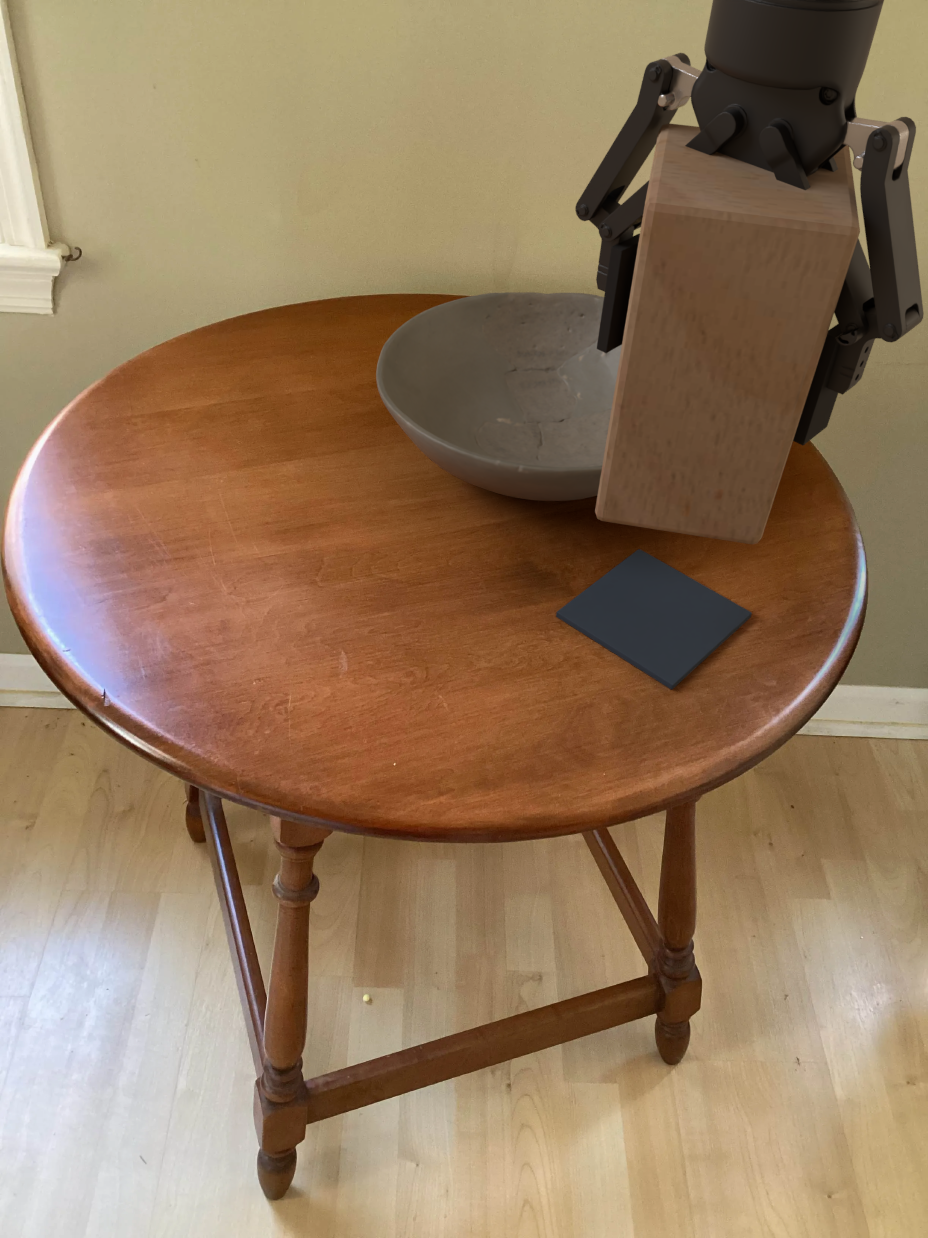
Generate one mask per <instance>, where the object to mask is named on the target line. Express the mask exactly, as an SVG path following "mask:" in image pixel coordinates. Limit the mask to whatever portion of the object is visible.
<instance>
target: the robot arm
mask: <svg viewBox="0 0 928 1238" xmlns="http://www.w3.org/2000/svg"><path fill="white" fill-rule="evenodd" d="M884 2H885V0H712V2H711V3H712V4H711V9H710V13H709V14H710V15H709V19H708V25H707V30H706V36H705V41H704V55H705V63H704V66H703V68H702V70H700V69H698V68H695V67H693V66H692V63H691V59H690V58H689V55H688V54H686V53H685V52H677V53H675V54H672V55H668V56H665V57H663V58H662V57H661V58H660V59H656V60H654V61H651V62H649V63H648V64H647V65H646V67H645V69H644V72H643V77H642V81H641V85H640V88H639V93H638V97H637V101H636V104H635V106H634V108H633V109H632V110H631V112H630V114H629V116H628V117H627V119H626V121H625V122H624V124H623V126H622V127H621V129H620V131H619V133H618V134H617V135H616V137H615V139H614V141H613V143H612V144H611V145H610V147H609V149H608V150H607V152H606V154H605V156H604V157H603V159H602V160H601V162H600V163H599V166H598V167H597V168H596V170H595V172H594V174H593V175H592V177H591V178H590V180H589V182H588V183H587V185H586V187H585V188H584V190H583V192H582V193H581V195H580V197H579V198H578V200H577V202H576V204H575V207H574V208H575V209H574V210H575V214H576V216H577V219H579V220H580V221H582V222H587V221H588V222H590V223H591V224H592V225H594V226H595V227H596V229H597V230H598V234H599V237H600V238H601V241H600V250H599V257H598V264H597V272H596V277H595V281H596V286H597V290H599V291H602V292H604V295H603V297H604V301H603V308H602V315H601V322H600V329H599V336H598V342H597V349H598V350H600V351H602V352H604V353H608V352H609V351H611V350H613V349H615V348H616V347H618V346H620V345H622V342H623V336H624V329H625V323H626V317H627V311H628V305H629V299H630V292H631V286H632V280H633V274H634V268H635V262H636V255H637V249H638V243H639V237H640V233H637V234H635V235H634V232H635V231H636V230H639V229H641V224H642V218H643V212H644V206H645V201H646V195H647V190H648V185H649V180H647V181H646V182H645V183H644V184H643V185H641V187H639V189H637V190H636V191H634V193H632V194H631V195H630V196H629V197H628V198H627V199H626V200H625V201H624V202H622V203H619V202H620V200H621V199H622V198H623V196H624V195H625V193H626V191H627V189H628V188H629V186H630V185H631V184H632V182H633V181H634V179H635V177H636V176H637V175H638V173H639V171H640V170H641V168H642V166H643V165H644V164H645V162H646V161H647V159H648V158H649V156H650V154H651V152H652V151H653V150H654V149H655V147H656V142H657V137H658V132H659V130H660V129H661V127H662V125H666V124H669V123H670V124H671V122H672V120H673V119H674V117H675V116H676V113H677V112H678V110H679V108H682V107H684V106H685V105H687V104H688V102H689V100H690V103H691V106H692V110H693V113H694V116H695V119H696V121H697V125H698V127H699V128H700V131H701V132H700V133H699V134H698V135H696V136H695V137H694V138H693V139H692V140H691V141H690V142H689V143H687V144H686V145H685V146H686V147H689V148H691V149H694V150H697V151H700V152H702V153H705V154H708V155H712V154H714V153H716V152H718V153H721V154H724V155H726V156H729V157H732V158H735V159H737V160H740V161H743V162H745V163H748V164H751V165H754V166H756V167H759V168H762V169H765V170H767V171H770V172H773V173H774V175H775V177H776V180H778V181H781V182H784V183H787V184H789V185H792V186H795V187H797V188H800V189H803V190H807V189H809V188H810V187H811V186H810V185H809V182H808V180H807V177H808V176H809V175H811V174H813V173H815V172H816V171H817V170H819V169H820V168H823V169H826V170H829V171H832V172H834V171H836V170H838V167H837V165H836V162H835V159H834V157H833V156H835V155H836V154H837V153H838V152H839V151H840V150H841V149H843V148H844V147H845V146H846V145H847V146H849V149H850V150H851V151H852V154H853V161H852V166H853V167H854V169H856V170H858V171H859V172H860V181H859V191H860V192H859V193H860V202H861V210H862V218H863V225H864V226H863V227H864V233H865V241H866V248H867V249H866V250H867V257H868V260H867V258H866V255H865V253H864V249H863V247H862V244H861V242H860V239H859V238H858V240H857V243H856V246H855V249H854V252H853V255H852V258H851V262H850V265H849V268H848V271H847V274H846V277H845V280H844V283H843V286H842V290H841V293H840V296H839V299H838V302H837V305H836V308H835V311H834V316H835V318H836V321H837V323H836V324H835V325H833V326H832V327H831V328H829V330H828V333H827V336H826V339H825V343H824V346H823V349H822V352H821V355H820V358H819V361H818V364H817V367H816V371H815V374H814V377H813V380H812V383H811V386H810V389H809V392H808V395H807V399H806V402H805V405H804V408H803V411H802V414H801V417H800V420H799V423H798V427H797V430H796V433H795V436H794V439H793V442H795V443H796V444H799V445H800V446H805V445H806V444H807V443H809V442H810V441H811V440H812V439H813V438H815V437H816V436H817V435H819V434H820V433H821V432H822V431H824V430H825V429H826V428H827V427H828V425H829V422H830V420H831V416H832V414H833V410H834V408H835V405H836V401H837V398H838V395H839V394H840V395H842V396H843V395H844V394H845V393H847V392H849V390H851V389H852V388H854V387H855V386H857V384H858V383H859V382H860V380H862V377H863V375H864V372H865V368H866V366H867V364H868V360H869V357H870V354H871V352H872V349H873V346H874V343H875V341H876V339H878V340H879V339H881V340H882V341H884V342H886V343H895V342H897V341H898V340H899V339H901V338H902V337H904V336H906V334H908V333H909V332H910V331H912V330H913V329H914V328H916V327H917V326H918V325H920V324H921V323H922V321H923V320H924V306H923V297H922V296H923V295H922V288H921V281H920V280H921V279H920V278H921V277H920V269H919V259H918V252H917V251H918V249H917V242H916V233H915V225H914V216H913V207H912V197H911V188H910V187H911V186H910V179H909V171H908V170H909V166H910V162H911V157H912V152H913V148H914V147H913V146H914V143H915V138H916V133H917V126H916V123H915V121H914V120H913V119H912V118H910V117H909V116H900V117H899V118H896V119H894V120H893V121H883V120H875V119H869V118H864V117H863V118H862V117H858V115H857V109H856V95H857V91H858V88H859V86H860V83H861V80H862V78H863V75H864V72H865V69H866V66H867V62H868V58H869V55H870V51H871V48H872V44H873V40H874V37H875V34H876V31H877V27H878V24H879V20H880V16H881V13H882V10H883V5H884Z"/></svg>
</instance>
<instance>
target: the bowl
mask: <svg viewBox="0 0 928 1238" xmlns="http://www.w3.org/2000/svg"><path fill="white" fill-rule="evenodd" d="M603 301H604V296H600V295H597V294H593V293H592V294H591V293H584V292H551V293H543V292H535V291H532V292H531V291H529V292H528V291H526V292H523V291H522V292H520V291H519V292H518V291H517V292H516V291H515V292H514V291H513V292H512V291H511V292H508V291H507V292H487V293H481V294H477V295H470V296H465V297H462V298H457V299H453V300H451V301H448V302H444V303H441V304H439V305H435V306H433V307H431V308H428V309H426V310H423V311H422V312H420V313H418V314H416V315H415V316H413V317H411V318H410V319H409V320H407V321H405V322H404V323H403V324H402V325H400V326H399V327H398V328H397V329H396V330H395V331H394V332H393V333H392V334H391V335H390V336H389V338H388V339H387V340H386V341H385V343H384V344H383V346H382V348H381V351H380V354H379V356H378V360H377V365H376V372H375V378H376V379H375V381H376V386H377V391H378V394H379V396H380V399H381V401H382V402H383V405H384V407H385V408H386V409H387V411H388V412H389V414H390V415H391V417H392V418H393V420H394V421H395V422H396V423H397V424H398V426H399V427H400V428H401V430H402V431H403V432H404V433H405V435H406V436H407V437H408V438H409V439H410V441H411V442H412V443H413V444H414V445H415V446H416V448H418V450H419V451H420V452H422V453H423V455H425V456H426V457H427V458H428V459H429V460H431V461H432V462H433V463H434V464H435V465H437V466H438V467H439V468H440V469H442V470H443V471H444V472H447V473H448V474H450V475H452V476H454V477H455V478H457V479H459V480H462V481H463V482H466V483H468V484H470V485H473V486H475V487H478V488H480V489H483V490H485V491H489V492H492V493H496V494H498V495H502V496H505V497H506V496H507V497H511V498H515V499H521V500H527V501H530V500H531V501H539V502H541V501H542V502H566V501H567V502H569V501H577V500H584V499H589V498H594V497H597V496H598V490H599V484H600V478H601V471H602V465H603V459H604V453H605V447H606V441H607V434H608V428H609V422H610V416H611V410H612V403H613V397H614V391H615V385H616V379H617V373H618V366H619V360H620V354H621V348H622V345H620V346H618V347H616V348H615V349H613V350H611V351H609V352H608V353H604V352H602V351H600V350H598V349H597V342H598V336H599V329H600V322H601V315H602V308H603Z"/></svg>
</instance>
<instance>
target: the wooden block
mask: <svg viewBox="0 0 928 1238" xmlns="http://www.w3.org/2000/svg"><path fill="white" fill-rule="evenodd" d="M700 132H701V131H700V128H699V126H697V125H696V126H695V125H686V124H678V123H671V122H670V123H669V124H666V125H662V127H661V129H660V130H659V132H658V137H657V142H656V145H655V146H654V153H653V159H652V164H651V169H650V175H649V180H648V181H649V185H648V190H647V195H646V201H645V206H644V212H643V218H642V224H641V227H640V231H639V234H640V237H639V243H638V249H637V255H636V262H635V268H634V274H633V280H632V286H631V292H630V299H629V305H628V311H627V317H626V323H625V329H624V336H623V342H622V348H621V354H620V360H619V366H618V373H617V379H616V385H615V391H614V397H613V403H612V410H611V416H610V422H609V428H608V434H607V441H606V447H605V453H604V459H603V465H602V471H601V478H600V484H599V490H598V496H596V503H595V509H594V513H595V515H596V518H597V520H600V521H601V522H608V523H613V524H618V525H619V524H620V525H626V526H632V527H639V528H645V529H652V530H656V531H657V530H658V531H665V532H670V533H676V534H677V533H678V534H682V535H689V536H694V537H695V536H696V537H702V538H708V539H716V540H720V541H721V540H722V541H727V542H735V543H740V544H747V545H757V544H758V543H759V542H760V541H761V539H762V538H763V536H764V532H765V529H766V526H767V522H768V520H769V517H770V514H771V510H772V507H773V505H774V501H775V498H776V495H777V492H778V488H779V485H780V482H781V479H782V476H783V473H784V469H785V467H786V463H787V461H788V457H789V454H790V451H791V448H792V445H793V442H794V441H793V439H794V436H795V433H796V430H797V427H798V423H799V420H800V417H801V414H802V411H803V408H804V405H805V402H806V399H807V395H808V392H809V389H810V386H811V383H812V380H813V377H814V374H815V371H816V367H817V364H818V361H819V358H820V355H821V352H822V349H823V346H824V343H825V339H826V336H827V333H828V330H830V327H831V324H832V321H833V317H834V316H835V313H834V311H835V308H836V305H837V302H838V299H839V296H840V293H841V290H842V286H843V283H844V280H845V277H846V274H847V271H848V268H849V265H850V262H851V258H852V255H853V252H854V249H855V246H856V243H857V240H858V239H859V236H860V233H861V228H860V220H859V212H858V204H857V197H856V190H855V182H854V174H853V167H852V166H853V164H852V157H851V151H850V150H851V149H850V147H849V146H847V145H846V146H845V147H844V148H843V149H841V150H840V151H839V152H838V153H837V154H836V155H835V156H833V157H834V159H835V162H836V165H837V167H838V170H836V171H834V172H832V171H829V170H826V169H823V168H820V169H819V170H817V171H816V172H815V173H813V174H811V175H809V176H808V177H807V180H808V182H809V185H810V186H811V187H810V188H809V189H807V190H803V189H800V188H797V187H795V186H792V185H789V184H787V183H784V182H781V181H778V180H776V177H775V175H774V173H773V172H770V171H767V170H765V169H762V168H759V167H756V166H754V165H751V164H748V163H745V162H743V161H740V160H737V159H735V158H732V157H729V156H726V155H724V154H721V153H718V152H716V153H714V154H712V155H708V154H705V153H702V152H700V151H697V150H694V149H691V148H689V147H686V146H685V145H686V144H687V143H689V142H690V141H691V140H692V139H693V138H694V137H695V136H696V135H698V134H699V133H700Z"/></svg>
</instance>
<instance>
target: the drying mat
mask: <svg viewBox="0 0 928 1238" xmlns="http://www.w3.org/2000/svg"><path fill="white" fill-rule="evenodd" d="M752 614H753V611H750V610H749V609H746V608H745V607H743V606H741V605H739V604H738V603H735V602H734V601H732V600H730V599H729V598H727V597H725V596H723V595H722V594H720V593H718V592H716V591H714V590H713V589H712V588H709V587H708V586H706V585H704V584H702V583H700V582H699V581H697V580H696V579H693V578H691V577H690V576H688V575H687V574H685V573H683V572H681V571H679V570H677V568H674V567H672V566H671V565H669V564H667V563H666V562H664V561H661V560H660V559H658V558H656V557H654V556H653V555H651V554H650V553H647V552H646V551H644V550H643V549H641V548H637V550H635V551H634V552H633V553H631V554H630V555H629V556H627V557H626V558H624V560H622V561H621V562H620V563H618V564H617V565H616V566H614V567H613V568H612V569H611V570H609V571H608V572H606V574H603V576H602V577H601V576H600V578H599V579H597V580H596V581H595V582H593V584H591V585H590V586H588V587H587V588H586V589H584V590H583V591H582V592H580V593H579V594H578V595H576V596H575V597H574V598H573V599H571V600H570V601H569V602H567V603H566V604H565V605H563V606H562V607H561V608H560V609H558V610H557V611H556V613H555V617H556V618H557V619H558V620H561V622H564V623H565V624H567V625H569V626H570V627H572V629H573V628H574V629H575V630H576V631H578V632H580V633H581V634H582V635H584V636H585V637H588V638H589V639H590V640H592V641H593V642H595V643H597V644H598V645H600V646H602V647H603V648H605V649H606V650H608V651H609V652H611V653H613V654H614V655H616V656H618V657H619V658H620V659H622V660H623V661H625V662H627V663H629V664H630V665H631V666H633V667H634V668H636V669H638V670H639V671H641V672H642V673H644V674H646V676H647V675H648V676H649V677H651V678H652V679H653V680H655V681H657V682H659V683H660V684H661V685H663V686H665V687H666V688H668V689H670V690H673V689H674V688H676V687H677V686H678V685H679V684H680V683H681V682H682V681H683V680H684V679H685V678H686V677H688V676H689V675H690V674H691V673H692V672H693V671H694V670H695V669H697V667H698V666H699V665H701V664H702V663H703V662H704V661H705V660H706V659H707V658H709V657H710V656H711V654H713V653H714V652H715V651H716V650H717V649H718V648H719V647H720V646H721V645H723V644H724V643H725V641H727V640H728V639H729V638H730V637H731V636H732V635H733V634H734V633H735V632H736V631H738V630H739V629H740V628H741V627H743V625H744V624H746V622H747V621H749V620H750V619H751V618H752Z"/></svg>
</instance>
